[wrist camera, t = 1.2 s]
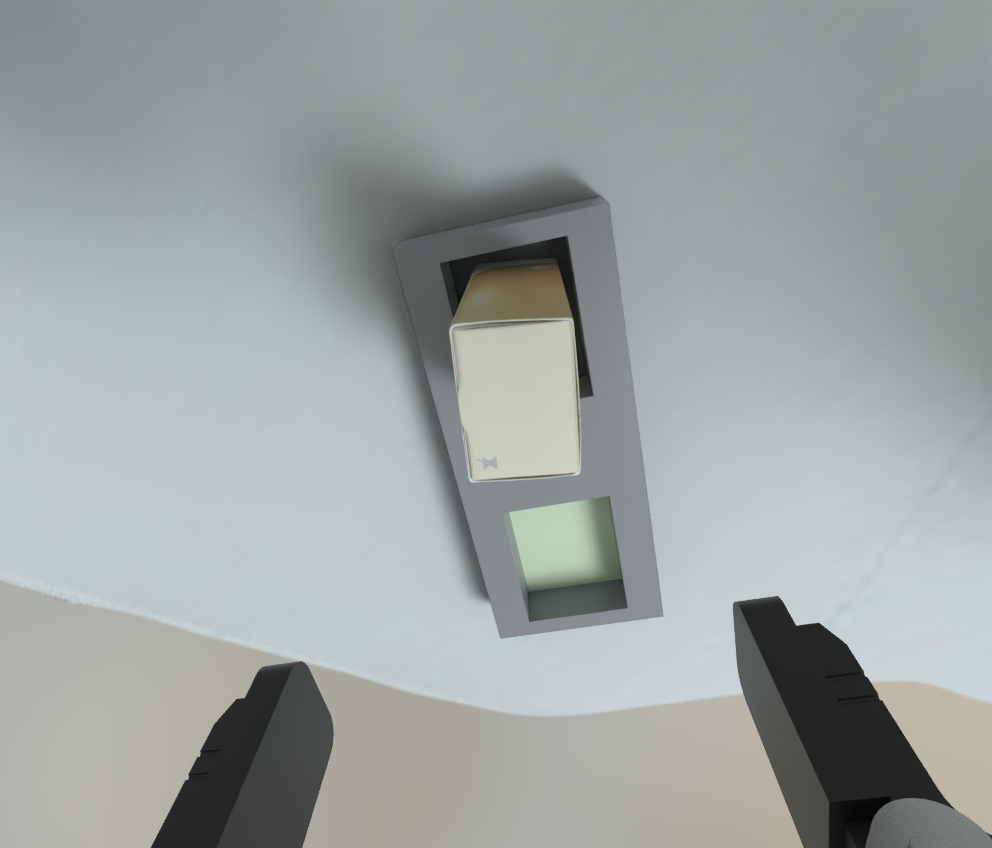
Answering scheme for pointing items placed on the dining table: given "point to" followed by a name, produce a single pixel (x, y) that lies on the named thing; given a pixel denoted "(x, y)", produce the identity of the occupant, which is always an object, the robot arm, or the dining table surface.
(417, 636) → the dining table surface
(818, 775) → the robot arm
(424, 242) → the panel
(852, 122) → the dining table surface
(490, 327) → the skincare box
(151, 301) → the dining table surface
